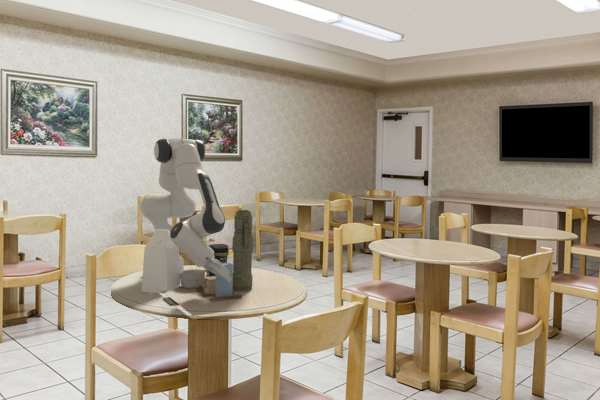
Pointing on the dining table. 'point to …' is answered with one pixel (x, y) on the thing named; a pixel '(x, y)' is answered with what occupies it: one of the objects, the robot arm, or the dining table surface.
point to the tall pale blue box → (224, 283)
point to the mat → (170, 301)
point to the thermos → (242, 251)
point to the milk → (160, 263)
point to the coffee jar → (219, 254)
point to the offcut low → (208, 289)
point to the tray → (213, 297)
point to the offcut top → (209, 281)
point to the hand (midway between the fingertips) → (225, 278)
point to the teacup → (193, 278)
